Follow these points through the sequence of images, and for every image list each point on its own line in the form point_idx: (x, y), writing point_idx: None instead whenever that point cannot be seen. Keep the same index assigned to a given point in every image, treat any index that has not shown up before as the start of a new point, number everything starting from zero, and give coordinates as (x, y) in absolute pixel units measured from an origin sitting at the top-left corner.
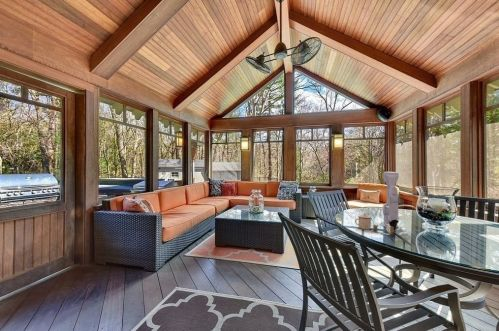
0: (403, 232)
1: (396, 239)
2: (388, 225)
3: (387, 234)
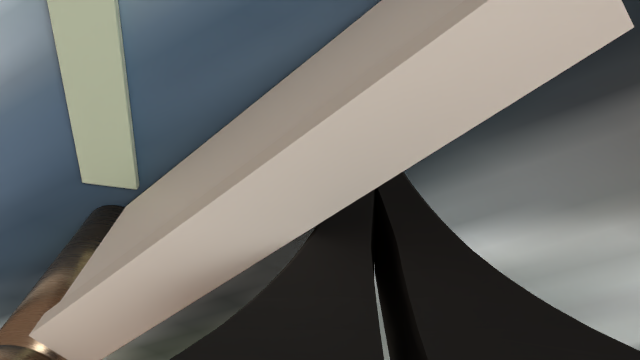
0: (632, 258)
1: None
2: (263, 188)
3: (84, 158)
